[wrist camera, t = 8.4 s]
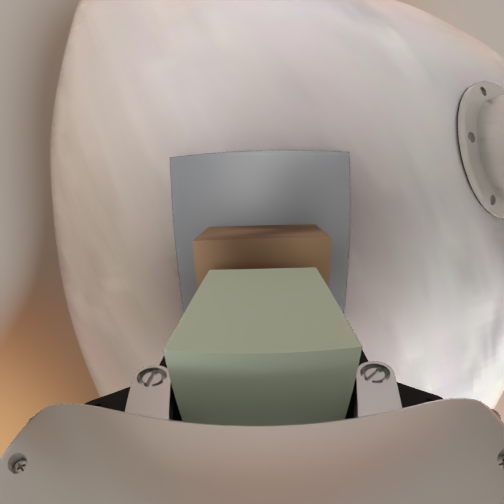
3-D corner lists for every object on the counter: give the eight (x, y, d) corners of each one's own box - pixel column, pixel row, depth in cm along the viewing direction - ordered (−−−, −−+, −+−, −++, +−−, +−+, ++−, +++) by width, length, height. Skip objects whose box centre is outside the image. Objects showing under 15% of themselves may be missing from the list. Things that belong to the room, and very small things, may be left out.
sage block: (316, 267, 11) (362, 346, 5) (308, 377, 13) (326, 472, 7) (209, 269, 11) (163, 350, 6) (221, 378, 13) (201, 474, 7)
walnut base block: (315, 224, 16) (331, 237, 12) (310, 338, 18) (320, 373, 14) (208, 227, 17) (192, 240, 13) (218, 340, 19) (209, 375, 15)
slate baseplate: (344, 153, 16) (349, 151, 15) (331, 374, 20) (333, 381, 19) (174, 158, 16) (169, 157, 16) (198, 376, 21) (196, 384, 20)
